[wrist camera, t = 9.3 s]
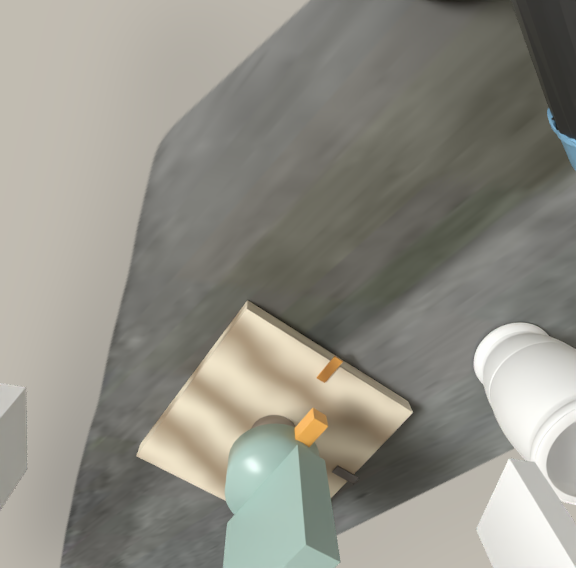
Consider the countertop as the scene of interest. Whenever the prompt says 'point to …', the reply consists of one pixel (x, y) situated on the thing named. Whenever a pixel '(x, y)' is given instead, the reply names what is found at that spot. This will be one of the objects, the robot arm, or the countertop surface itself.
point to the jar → (534, 398)
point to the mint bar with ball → (280, 499)
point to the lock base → (270, 404)
